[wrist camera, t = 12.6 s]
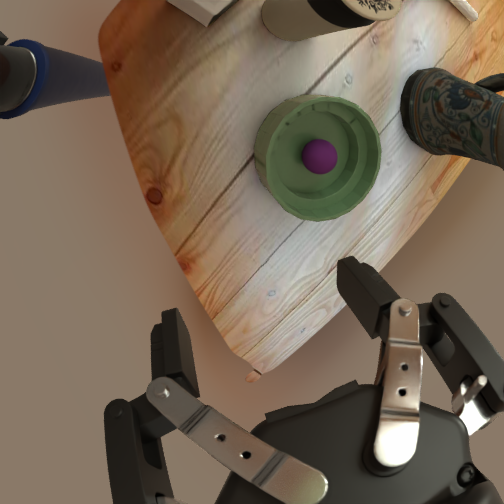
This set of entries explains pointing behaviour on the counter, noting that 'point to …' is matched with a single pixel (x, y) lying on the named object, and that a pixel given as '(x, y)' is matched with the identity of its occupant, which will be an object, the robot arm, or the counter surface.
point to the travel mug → (323, 16)
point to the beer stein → (455, 115)
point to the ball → (319, 156)
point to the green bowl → (290, 156)
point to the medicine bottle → (204, 9)
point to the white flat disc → (465, 9)
